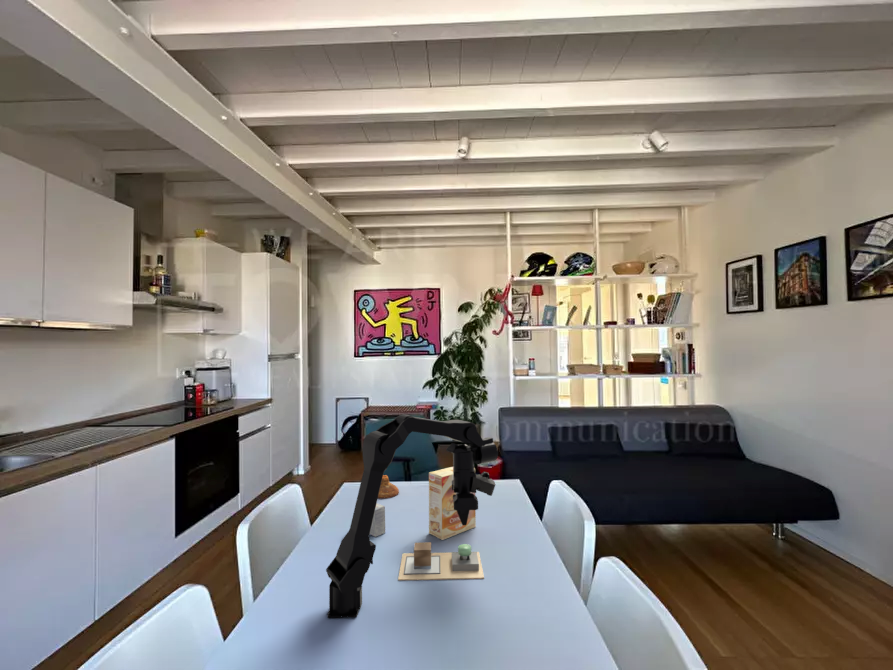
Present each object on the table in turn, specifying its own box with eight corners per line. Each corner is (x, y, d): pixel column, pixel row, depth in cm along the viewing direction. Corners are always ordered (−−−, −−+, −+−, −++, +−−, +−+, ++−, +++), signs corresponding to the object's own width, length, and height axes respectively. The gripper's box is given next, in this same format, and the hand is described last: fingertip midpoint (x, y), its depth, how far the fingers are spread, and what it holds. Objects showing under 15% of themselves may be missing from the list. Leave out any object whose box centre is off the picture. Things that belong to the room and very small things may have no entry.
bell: (373, 489, 184) (373, 472, 184) (401, 490, 182) (401, 472, 183) (365, 498, 172) (365, 480, 172) (395, 499, 171) (395, 481, 171)
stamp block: (414, 569, 115) (413, 550, 116) (414, 560, 120) (414, 542, 120) (430, 568, 115) (430, 549, 116) (431, 560, 120) (431, 542, 120)
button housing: (452, 572, 114) (452, 564, 114) (451, 559, 121) (451, 552, 121) (478, 571, 114) (478, 564, 115) (476, 558, 121) (476, 551, 122)
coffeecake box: (442, 540, 133) (441, 476, 134) (428, 533, 139) (427, 472, 139) (476, 527, 143) (476, 467, 144) (462, 520, 148) (461, 463, 149)
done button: (458, 563, 116) (458, 550, 116) (457, 557, 120) (457, 544, 120) (471, 563, 116) (471, 550, 116) (470, 556, 120) (470, 543, 120)
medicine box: (385, 533, 139) (385, 505, 140) (374, 537, 136) (374, 509, 136) (370, 526, 145) (370, 500, 145) (359, 530, 141) (359, 503, 142)
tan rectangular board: (398, 580, 111) (398, 578, 111) (402, 554, 125) (402, 552, 125) (484, 578, 111) (484, 576, 111) (478, 552, 125) (478, 551, 125)
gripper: (497, 476, 110) (498, 539, 109) (489, 458, 128) (489, 511, 128) (453, 477, 109) (454, 540, 109) (451, 458, 128) (452, 512, 128)
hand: (464, 524), depth 118 cm, fingers closed
